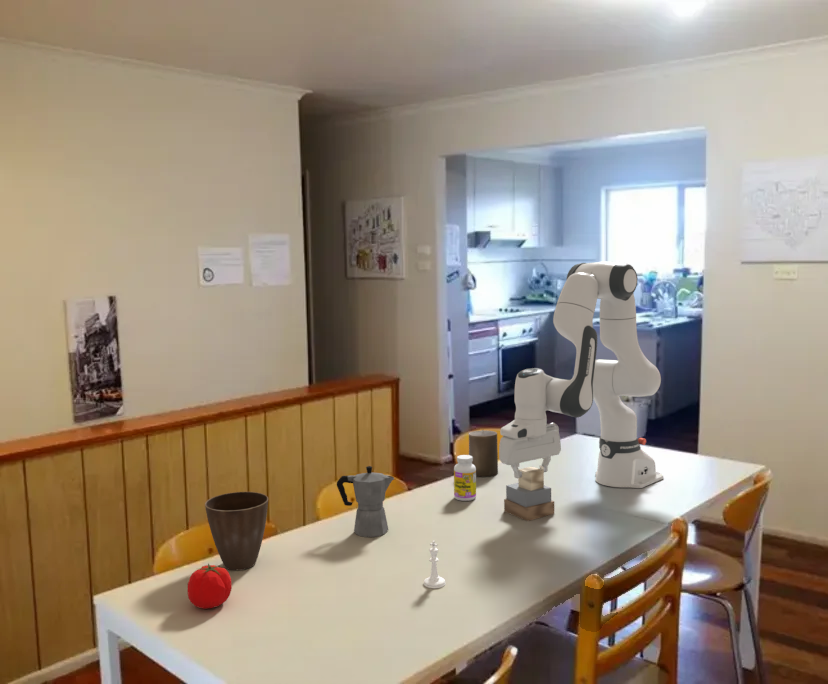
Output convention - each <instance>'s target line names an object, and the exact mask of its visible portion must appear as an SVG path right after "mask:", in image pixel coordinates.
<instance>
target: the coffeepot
mask: <svg viewBox="0 0 828 684" xmlns="http://www.w3.org/2000/svg"><path fill="white" fill-rule="evenodd" d="M365 468H366V472H362V473H357V474H355V475H354V474H353V475H342V476H340V477H339V479H338V480H337V481H336V487H337V489H338V491H339V494H340V497H341V500H342V502H343V504H344V506H348V507H351V506H352V505H353V503H354V502H352V501H348V495H347V493H346V489H345V486H344V483H346V484H347V483H348V484H352V486H353V490H354V495H355V502H356V503H357V506H358V507H357V508H356V515H355V521H354V529H353V531H354V534H355V535H357V536H359V537H362V538H377V537H381V536H384V535H385V534H386V533H387V532H388V531H389V525H388V520H387V515H386V512H385V508H384V501H385V499H386V492H387V489H388V488H389V486H390V484H391V483H392V482H393V480H395V478H394V476H392V475H389V474H388V475H387V474H384V473H382V472H373V466H370V465H368V466H366V467H365Z"/></svg>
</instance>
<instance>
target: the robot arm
mask: <svg viewBox="0 0 828 684" xmlns="http://www.w3.org/2000/svg"><path fill="white" fill-rule="evenodd" d="M638 280H639V279H638V273H637V271H636V270H635V268H634V266H632V265H631V264H628V263H625V262H620V261H619V262H613V261H596V262H581V263H577V264H574V265H573V266H572V267H570V269H569V270H568V272H567V274H566V280H565V282H564V285H563V287H562V289H561V292H560V295H559V296H558V298H557V299H558V300H557V302H556V305H555V309H554V313H553V316H552V317H553V319H552V321H553V322H552V323H553V326H554V328H555V329H556V331H557V332H558V334H560V336H562V337H563V338H565V339H567V340H568V341H569V342H571V343H572V344H573V345H574V346H575V350H576V352H575V353H576V354H575V362H574V370H573V376H572V378H571V379H564V378H558V377H553V376H551V375H548V374H546V373H545V371H544V370H543V369H542V368H538V367H534V368H533V367H532V368H526V369H523V370H520V371H519V372H518V373H517V374H516V377H515V382H514V383H515V384H514V404H515V412H514V419H513V420H512V421H511V422H509V423H507V424H506V425H504V426H502V427H501V428H500V433H499V434H500V436H502V437H501V438H500V441H499V446H498V449H499V451H498V452H499V453H498V460H499V461H500V462H501V464H504V465H506V466H510V467H511V469H512V471H513V473H514V474H513V475H514V478H515V479H518V478H522V472H521V471H519V469H520V468H519V467H520V463H521V464H522V463H525V462H526V463H527V462H530V461H531V462H532V461H535V460H536V461H537V460H539V459H542V463H541V465H539V469H542V470H544V473H547V472H548V468H549V465H550V462H551V461H552V459H551V457H554V456H557V455H559V454H560V453H561V451H562V446H561V437H560V433H559V431H560V430H559V429H560V428H559V426H558V424H557V423H555V422H550V423H547V421H548V419H547V411H550V412H552V413H558V414H562V415H565V416H569V417H572V418H577V419H578V418H580V417H582V416H584V415H586V414H587V413H588V412H589V411H590V410H591V408H592V407H593V403H595V405H596V407H597V409H598V413H599V419H600V420H599V422H600V437H599V441H598V447H599V453H598V458H597V469H596V472H595V482H596V483H598V484H600V485H603V486H606V487H607V486H608V487H611V488H632V489H643V488H646V487H647V486H650V485H651V484H655V483H657V482H658V481H661V480H663V479H664V475H663V474H662V473H660V472H658V471H657V470H656V462H655V459H654V458H653V457H651V456H650V455H649V454H647V452H645V451H644V450H643V449H642V447H641V445H643V446H644V445H646V443H647V439H646V438H643V437H639V438H638V437H637V434H638V432H637V431H638V429H637V428H638V424H637V422H638V420H637V419H638V417H637V414H636V412H635V411H634V410H633V409H632V408H630V406H627V405H626V404H625V403H623V401H622V398H621V397H620V396H625V397H636V398H641V397H650V396H653V395H655V394H656V393H657V392H658V390H659V388H660V386H661V383H662V382H661V381H662V378H661V373H660V371H659V369H658V367H657V366H656V365H655V364H653V362H651V361H650V360H648V358H647V357H646V355H645V354H644V353H643V351H642V349H641V347H640V344H639V339H638V331H637V329H638V328H637V327H638V326H637V308H636V307H637V306H636V299H635V295H634V294H635V291H636V289H637V286H638ZM598 299H599V300H600V302H599V340H600V343H601V344H602V345H603V346H604V347H605V348H606V349H608V350H610V351H611V352H612V353H614V355H615V357H616V358H617V360H616V359H601V358H600V359H599V358H598V359H597V357H596V356H597V351H598V333H597V330H595V328H594V326H593V320H594V315H595V311H596V308H597V300H598Z"/></svg>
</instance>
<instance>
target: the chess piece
mask: <svg viewBox="0 0 828 684" xmlns="http://www.w3.org/2000/svg"><path fill="white" fill-rule="evenodd" d="M429 546H432V547H430V548H429V553H430V556H431V557H430V558H429V560H428V561H429V562H431V570H430V575H429V577H426V578H424V580H423V586H424V587H426V588H428V589H440V588H443V587H445V586H446V584H447V583H446V580H445V578H443V577H442V576H440V575H439V572H438V566H437V563H438V562H439V560H440V559H439V558H438V553H439V549H438V543H436V540H432V542H430V543H429Z"/></svg>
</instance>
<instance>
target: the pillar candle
mask: <svg viewBox="0 0 828 684" xmlns="http://www.w3.org/2000/svg"><path fill="white" fill-rule="evenodd" d="M498 452H499V451H498V432H497V431H495V430H484V429H481V430H475V431H470V432H468V455H470V456H472V457H473V461H472V464H473V465H474V466H475V467H476V477H481V478H482V477H483V478H484V477H485V478H486V477H492V476H496V475H498V474H499V464H498V463H499V453H498Z"/></svg>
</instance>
